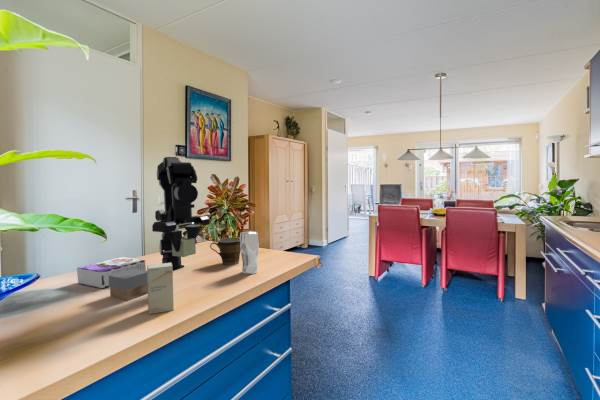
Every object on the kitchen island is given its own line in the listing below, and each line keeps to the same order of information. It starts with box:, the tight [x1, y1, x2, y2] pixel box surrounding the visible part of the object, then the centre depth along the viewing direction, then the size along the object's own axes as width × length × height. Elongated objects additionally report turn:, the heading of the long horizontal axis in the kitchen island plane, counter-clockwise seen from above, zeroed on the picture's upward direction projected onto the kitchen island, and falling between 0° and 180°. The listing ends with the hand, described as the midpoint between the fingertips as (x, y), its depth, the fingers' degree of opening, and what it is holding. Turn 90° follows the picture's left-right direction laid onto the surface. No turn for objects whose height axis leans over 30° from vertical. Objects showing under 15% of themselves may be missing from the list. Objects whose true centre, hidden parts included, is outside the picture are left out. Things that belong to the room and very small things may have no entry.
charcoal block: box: [108, 269, 148, 291], centre depth 95 cm, size 8×8×4 cm
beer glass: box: [239, 230, 260, 275], centre depth 116 cm, size 7×7×15 cm
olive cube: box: [172, 236, 197, 258], centre depth 100 cm, size 5×5×5 cm
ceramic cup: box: [209, 237, 241, 266], centre depth 129 cm, size 13×10×10 cm
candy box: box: [76, 256, 147, 289], centre depth 111 cm, size 14×6×16 cm
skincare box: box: [146, 262, 175, 315], centre depth 83 cm, size 6×4×12 cm
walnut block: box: [109, 283, 148, 302], centre depth 95 cm, size 8×8×4 cm
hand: (183, 249), depth 100 cm, fingers closed on olive cube, 5 cm apart
